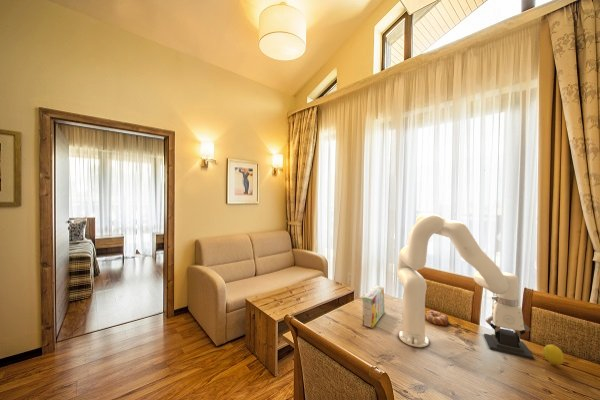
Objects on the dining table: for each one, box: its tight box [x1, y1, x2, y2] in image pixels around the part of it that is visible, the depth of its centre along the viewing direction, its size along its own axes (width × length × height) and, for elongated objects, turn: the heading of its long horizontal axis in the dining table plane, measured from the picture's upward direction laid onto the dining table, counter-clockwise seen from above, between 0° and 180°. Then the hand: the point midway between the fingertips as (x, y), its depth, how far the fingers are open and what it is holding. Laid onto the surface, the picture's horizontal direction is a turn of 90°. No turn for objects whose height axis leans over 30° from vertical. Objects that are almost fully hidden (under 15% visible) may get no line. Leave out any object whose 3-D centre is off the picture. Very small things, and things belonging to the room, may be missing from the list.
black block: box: [499, 327, 517, 347], centre depth 104 cm, size 6×6×4 cm
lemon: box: [542, 344, 565, 366], centre depth 93 cm, size 6×6×8 cm
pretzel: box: [425, 310, 449, 326], centre depth 127 cm, size 12×11×4 cm
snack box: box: [362, 284, 386, 329], centre depth 129 cm, size 21×6×15 cm, turn 144°
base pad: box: [483, 333, 534, 360], centre depth 104 cm, size 12×14×2 cm
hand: (507, 341), depth 104 cm, fingers closed on black block, 5 cm apart
